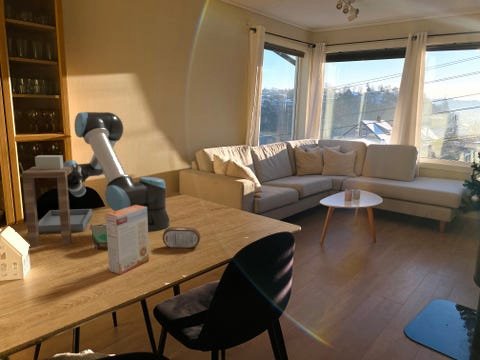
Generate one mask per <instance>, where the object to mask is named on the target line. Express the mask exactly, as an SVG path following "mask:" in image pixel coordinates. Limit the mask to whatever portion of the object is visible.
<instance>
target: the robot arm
mask: <svg viewBox="0 0 480 360" xmlns="http://www.w3.org/2000/svg"><path fill="white" fill-rule="evenodd" d="M73 129H74V132H75V135H76V137H77V138H80V139H81V138H83V140H84V142H85V144H86V145H87V144H88V145H90V148H91V150H92V152H93V154H92V157H91V159H90V161H89V162H87V163H79V164H78V162H77V161H76V160H73V159H72V160H66V161H65V162H63V166H73V171H72V172H71V173H70V174H68V175H67V182H68V192H70V194H72V196H74V197H76V198H80V197H82V196H84V195H85V194H86V192H87V189H86V185H85V184H84V183H85V182H86V180H87V179H88V178H90V177H98V176H103V175H104V177H105V179H106V182H107V184H106V186H105V187H106V188H105V191H104V196H105V202H106V203H107V205H108V207H109V208H110V209H111V210H112V211H113V212H114V211H118V210H121V209H124V208H127V207H131V206H134V205H140V206H144V207H147V220H148V231H159V230H164V229H168V228H169V226H170V224H171V223H170V221H171V220H170V217H169V215H168V213H167V209H166V208H167V206H166V204H167V203H166V202H167V201H166V189H167V188H166V182H165V179H163V178H160V177H153V176H152V177H151V176H141V177H139V179H138V181H134V180H133V178H132V176H131V175H129V174H127V173H126V171H125V170H124V167H123V165H122V163H121V161H120V159H119V157H118V155H117V154H116V151H115V149H114V148H115V145H116V143H117V142H118V141H120V140H121V138H122V136H123V133H124V125H123V121H122V119H121V118H120V117H119V116H118V115H116V114H114V113H112V112H110V111H109V112H107V111H106V112H104V111H103V112H99V111H97V112H95V111H93V112H91V111H84V112H83V111H82V112H78V113H77V114H76V116H75V120H74V128H73ZM47 180H50V181H53V182H55V183H57V178H47Z"/></svg>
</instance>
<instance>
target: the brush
mask: <svg viewBox="0 0 480 360" xmlns="http://www.w3.org/2000/svg"><path fill="white" fill-rule="evenodd" d="M63 156H64V155H61V154H59V155H58V154H57V155H55V154H54V155H50V154H49V155H46V154H45V155H37V156H35V157H34V161H35V167H36V169H62V168H63V164H64V159H63V158H64V157H63Z"/></svg>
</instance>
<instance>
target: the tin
mask: <svg viewBox="0 0 480 360" xmlns="http://www.w3.org/2000/svg"><path fill="white" fill-rule="evenodd" d="M200 240H201V234H200V232H199V231H198V230H197V229H196V228H194V227H183V226H170V227H167V228H165V230H164V232H163V235H162V241H163V243H164V245H165V246H166V247H168V248H171V249H193V248H196V247H197V246H198V245H199V244H200V243H199V242H200Z"/></svg>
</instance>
